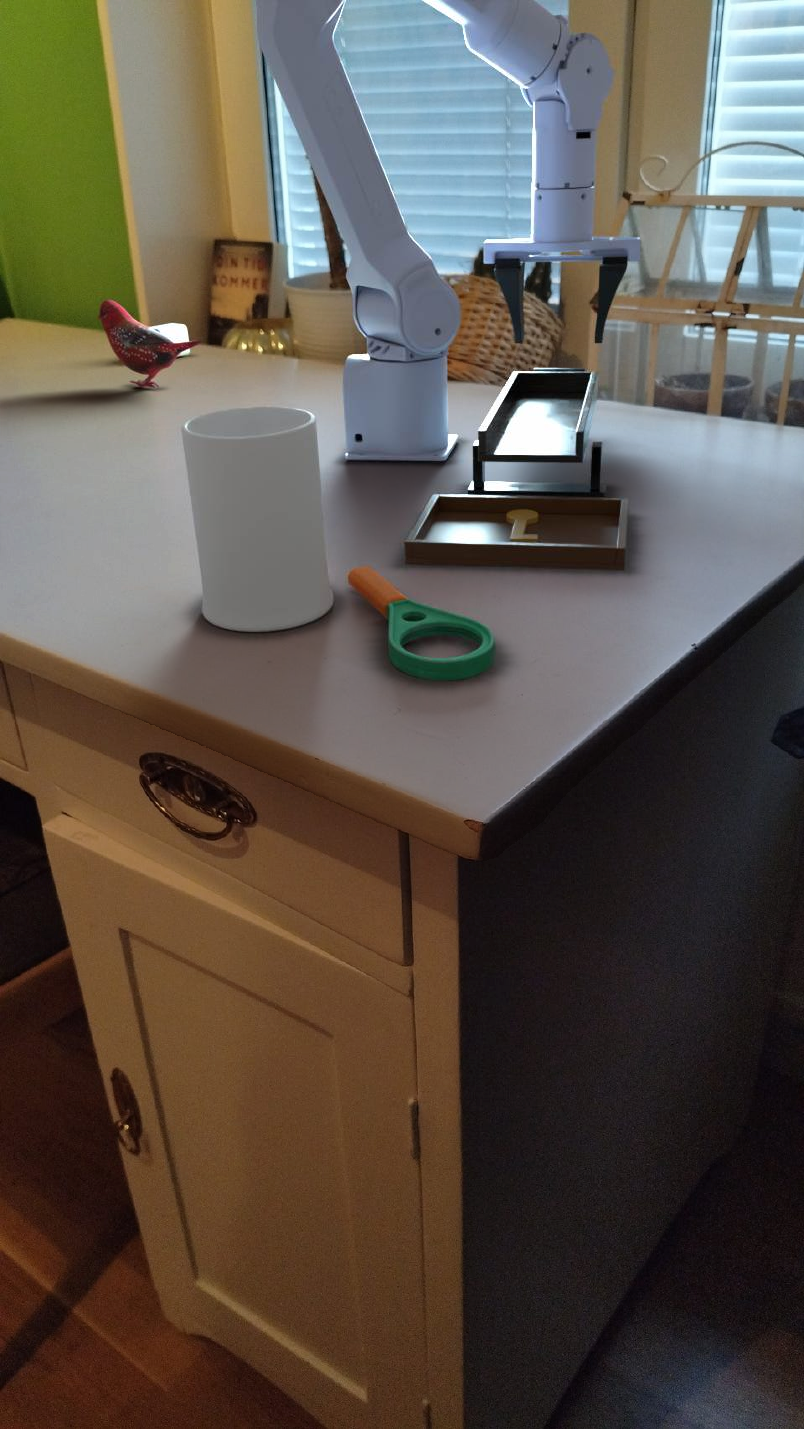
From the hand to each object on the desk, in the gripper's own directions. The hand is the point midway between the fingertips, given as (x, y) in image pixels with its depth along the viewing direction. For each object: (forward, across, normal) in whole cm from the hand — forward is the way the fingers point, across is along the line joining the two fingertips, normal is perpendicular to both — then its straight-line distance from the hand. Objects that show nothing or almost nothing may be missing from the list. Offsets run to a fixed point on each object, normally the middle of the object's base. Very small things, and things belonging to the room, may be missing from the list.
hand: (558, 341), depth 107 cm
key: (+8, 0, +34) cm, 35 cm away
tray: (+8, 0, +35) cm, 36 cm away
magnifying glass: (+8, +5, +52) cm, 53 cm away
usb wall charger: (+6, +57, -35) cm, 67 cm away
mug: (+8, +16, +48) cm, 51 cm away
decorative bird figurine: (+8, +50, -16) cm, 53 cm away
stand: (+8, 0, +23) cm, 24 cm away
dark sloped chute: (+4, 0, +14) cm, 15 cm away
